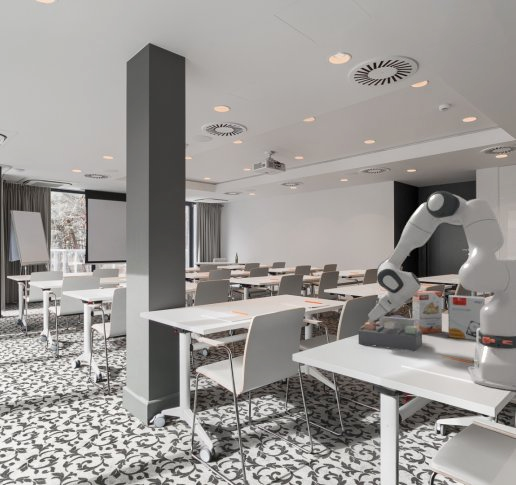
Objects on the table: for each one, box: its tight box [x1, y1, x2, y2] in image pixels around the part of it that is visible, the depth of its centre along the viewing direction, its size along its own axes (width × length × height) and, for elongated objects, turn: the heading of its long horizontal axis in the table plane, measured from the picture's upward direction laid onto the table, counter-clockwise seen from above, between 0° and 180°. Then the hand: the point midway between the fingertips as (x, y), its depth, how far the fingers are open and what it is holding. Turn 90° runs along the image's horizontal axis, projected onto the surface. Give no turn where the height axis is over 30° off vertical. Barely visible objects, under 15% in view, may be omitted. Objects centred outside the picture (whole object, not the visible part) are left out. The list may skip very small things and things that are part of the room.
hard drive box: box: [447, 294, 486, 341], centre depth 185 cm, size 16×8×20 cm, turn 62°
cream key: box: [384, 321, 396, 329], centre depth 174 cm, size 4×4×2 cm
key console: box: [358, 316, 423, 352], centre depth 176 cm, size 20×25×10 cm
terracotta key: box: [363, 321, 377, 330], centre depth 178 cm, size 4×4×2 cm
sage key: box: [405, 326, 417, 334], centre depth 169 cm, size 4×4×2 cm
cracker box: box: [412, 290, 443, 334], centre depth 198 cm, size 14×6×21 cm, turn 105°
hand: (369, 321), depth 179 cm, fingers closed, pressing on terracotta key
